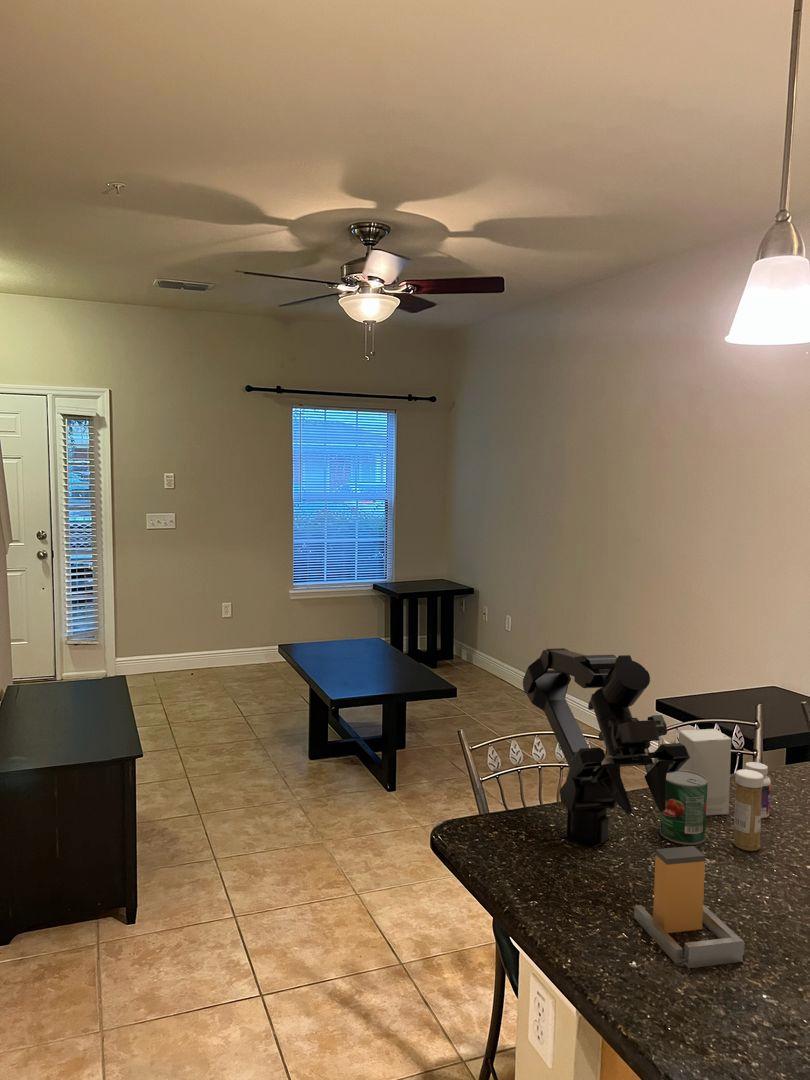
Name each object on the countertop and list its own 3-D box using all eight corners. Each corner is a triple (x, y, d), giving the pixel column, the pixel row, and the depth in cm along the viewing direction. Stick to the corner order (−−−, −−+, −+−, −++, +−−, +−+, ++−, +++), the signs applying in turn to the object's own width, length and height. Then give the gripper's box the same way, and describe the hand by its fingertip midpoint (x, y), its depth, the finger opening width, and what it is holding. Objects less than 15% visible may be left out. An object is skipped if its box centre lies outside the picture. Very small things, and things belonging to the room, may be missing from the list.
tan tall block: (652, 921, 110) (655, 849, 110) (690, 917, 112) (693, 846, 111) (663, 933, 107) (667, 859, 107) (702, 929, 109) (705, 855, 108)
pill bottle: (774, 819, 149) (776, 770, 148) (746, 818, 149) (748, 769, 148) (761, 807, 154) (764, 760, 153) (734, 807, 154) (737, 760, 154)
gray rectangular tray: (620, 909, 115) (621, 884, 115) (681, 902, 118) (682, 879, 117) (680, 976, 100) (681, 948, 99) (749, 967, 102) (750, 940, 101)
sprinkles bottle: (765, 851, 135) (769, 777, 134) (741, 852, 134) (745, 778, 134) (750, 839, 140) (754, 767, 139) (727, 840, 139) (730, 768, 138)
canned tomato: (651, 833, 142) (653, 775, 141) (675, 822, 146) (678, 766, 146) (689, 849, 135) (692, 788, 135) (714, 837, 140) (716, 779, 139)
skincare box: (713, 802, 156) (716, 727, 155) (730, 816, 150) (734, 738, 149) (674, 803, 155) (677, 728, 154) (690, 817, 149) (693, 739, 148)
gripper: (579, 699, 120) (609, 795, 110) (686, 694, 124) (724, 787, 114) (557, 732, 128) (584, 824, 118) (658, 727, 132) (692, 816, 122)
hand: (646, 812), depth 118 cm, fingers open, 5 cm apart
